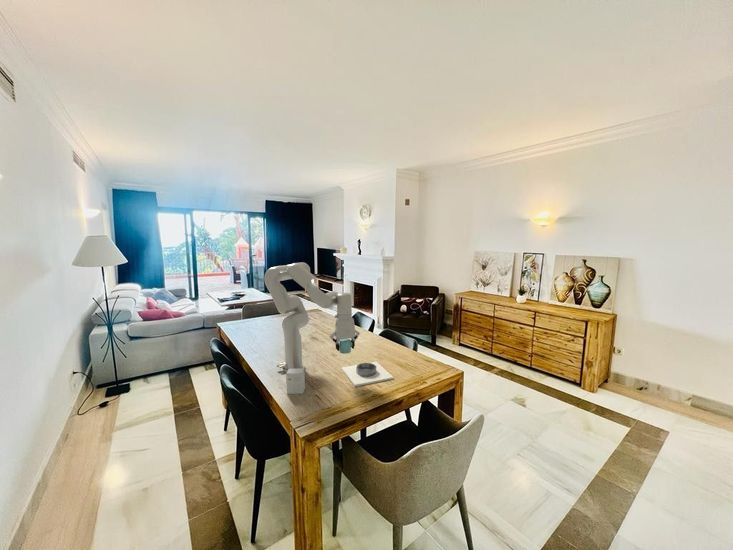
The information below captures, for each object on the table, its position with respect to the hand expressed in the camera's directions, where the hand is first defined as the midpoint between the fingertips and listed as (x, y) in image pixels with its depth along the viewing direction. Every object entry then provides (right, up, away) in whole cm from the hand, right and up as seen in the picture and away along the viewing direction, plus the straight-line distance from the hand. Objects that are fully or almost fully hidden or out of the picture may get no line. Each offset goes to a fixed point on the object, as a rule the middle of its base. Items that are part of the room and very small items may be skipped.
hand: (345, 348), depth 158 cm
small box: (-23, -18, -12) cm, 32 cm away
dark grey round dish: (+11, -16, +7) cm, 20 cm away
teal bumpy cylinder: (0, -1, 0) cm, 1 cm away
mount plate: (+11, -16, +7) cm, 20 cm away
